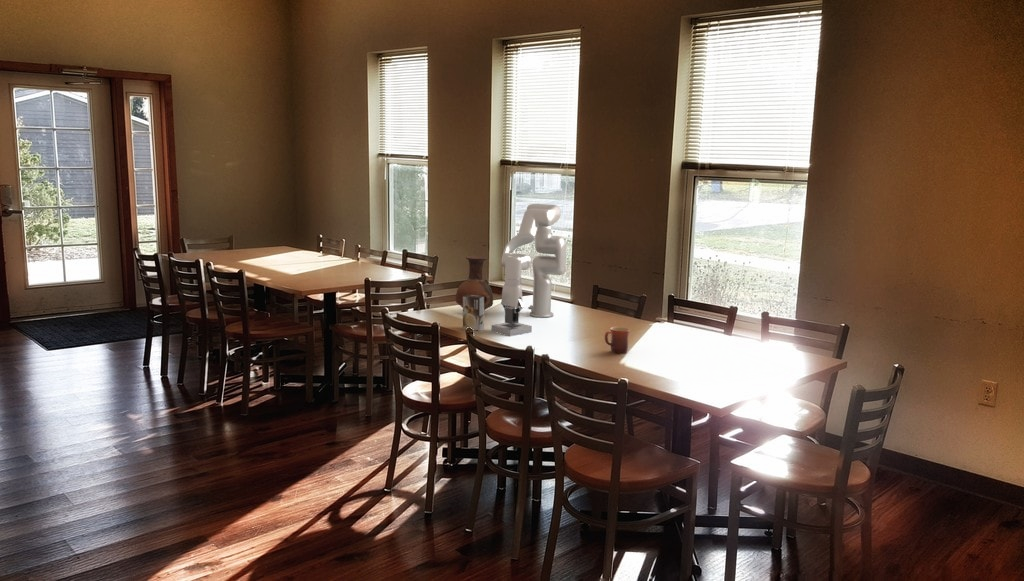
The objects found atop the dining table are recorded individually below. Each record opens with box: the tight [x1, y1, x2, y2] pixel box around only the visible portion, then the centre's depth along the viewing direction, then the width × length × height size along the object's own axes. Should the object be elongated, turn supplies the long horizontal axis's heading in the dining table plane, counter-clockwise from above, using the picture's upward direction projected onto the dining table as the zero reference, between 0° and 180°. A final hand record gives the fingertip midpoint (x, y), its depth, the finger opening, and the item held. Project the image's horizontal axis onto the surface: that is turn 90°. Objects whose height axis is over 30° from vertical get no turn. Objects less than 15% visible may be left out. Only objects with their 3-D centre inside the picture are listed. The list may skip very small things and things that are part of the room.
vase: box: [455, 255, 494, 311], centre depth 414 cm, size 25×20×30 cm
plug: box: [504, 307, 520, 324], centre depth 376 cm, size 5×5×7 cm
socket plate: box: [491, 322, 533, 337], centre depth 377 cm, size 13×14×4 cm
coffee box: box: [462, 295, 485, 332], centre depth 380 cm, size 9×6×16 cm
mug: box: [604, 326, 631, 354], centre depth 342 cm, size 12×9×10 cm
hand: (511, 319), depth 376 cm, fingers closed on plug, 4 cm apart
